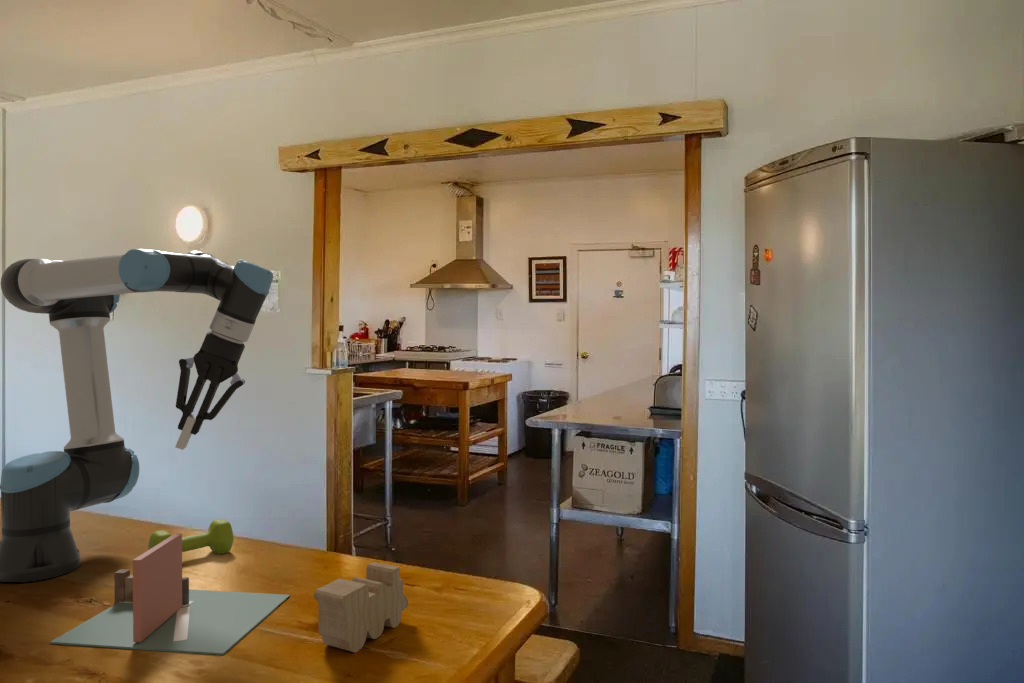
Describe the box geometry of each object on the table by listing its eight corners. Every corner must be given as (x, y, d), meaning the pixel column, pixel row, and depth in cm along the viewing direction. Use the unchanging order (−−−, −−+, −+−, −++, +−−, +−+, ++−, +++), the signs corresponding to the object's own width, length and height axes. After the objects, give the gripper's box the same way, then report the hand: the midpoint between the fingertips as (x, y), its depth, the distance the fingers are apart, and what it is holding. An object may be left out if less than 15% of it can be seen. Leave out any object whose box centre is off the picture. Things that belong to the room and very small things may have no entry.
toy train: (408, 620, 121) (408, 562, 121) (341, 661, 106) (341, 596, 106) (382, 613, 123) (382, 557, 123) (313, 653, 108) (313, 589, 108)
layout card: (50, 643, 111) (50, 641, 111) (145, 588, 134) (145, 586, 134) (223, 655, 108) (223, 653, 107) (289, 596, 131) (289, 594, 131)
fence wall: (114, 603, 127) (114, 572, 127) (121, 599, 129) (121, 569, 129) (185, 607, 125) (185, 576, 125) (191, 603, 127) (191, 572, 127)
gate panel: (175, 606, 124) (175, 533, 124) (182, 606, 124) (181, 533, 124) (133, 642, 110) (132, 560, 110) (140, 642, 110) (140, 560, 110)
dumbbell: (157, 573, 143) (157, 537, 143) (144, 563, 149) (144, 529, 149) (237, 554, 155) (237, 522, 155) (222, 546, 160) (222, 515, 160)
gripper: (189, 325, 134) (141, 439, 134) (256, 351, 137) (208, 462, 136) (199, 323, 142) (153, 431, 141) (262, 348, 144) (217, 454, 144)
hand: (180, 446), depth 139 cm, fingers closed
